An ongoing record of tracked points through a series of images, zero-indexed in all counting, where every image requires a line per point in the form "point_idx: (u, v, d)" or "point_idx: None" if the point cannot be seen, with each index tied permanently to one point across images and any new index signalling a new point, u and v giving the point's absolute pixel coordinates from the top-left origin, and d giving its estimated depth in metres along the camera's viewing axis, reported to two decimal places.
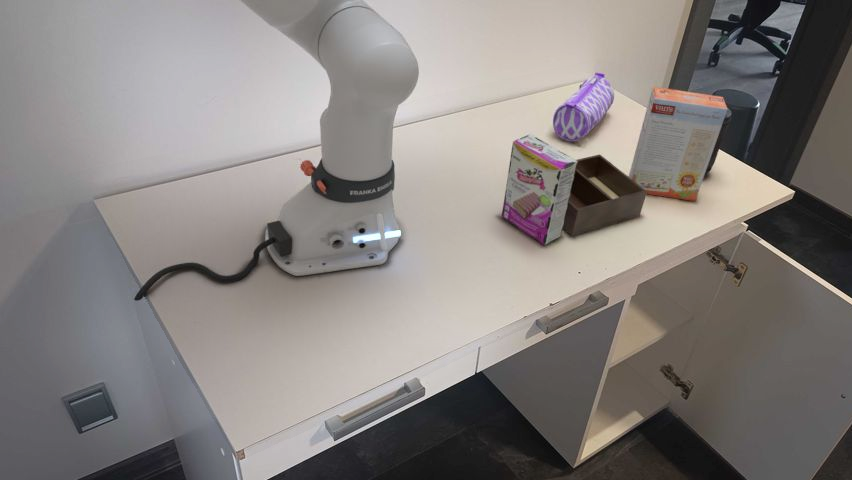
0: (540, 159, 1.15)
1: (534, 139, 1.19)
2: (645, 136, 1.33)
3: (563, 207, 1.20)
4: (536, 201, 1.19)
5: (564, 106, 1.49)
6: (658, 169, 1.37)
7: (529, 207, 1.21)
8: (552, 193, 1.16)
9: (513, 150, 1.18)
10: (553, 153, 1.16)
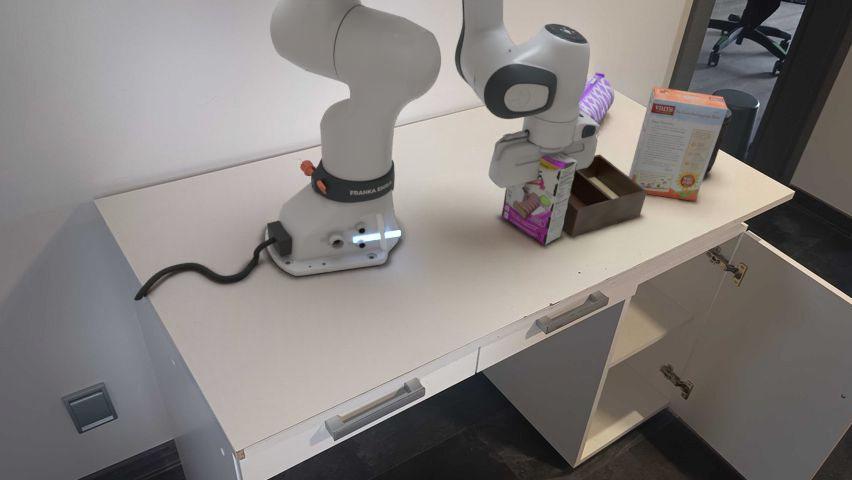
0: (540, 159, 1.15)
1: None
2: (645, 136, 1.33)
3: (563, 207, 1.20)
4: (537, 201, 1.19)
5: None
6: (658, 169, 1.37)
7: (529, 207, 1.21)
8: (552, 193, 1.16)
9: None
10: None
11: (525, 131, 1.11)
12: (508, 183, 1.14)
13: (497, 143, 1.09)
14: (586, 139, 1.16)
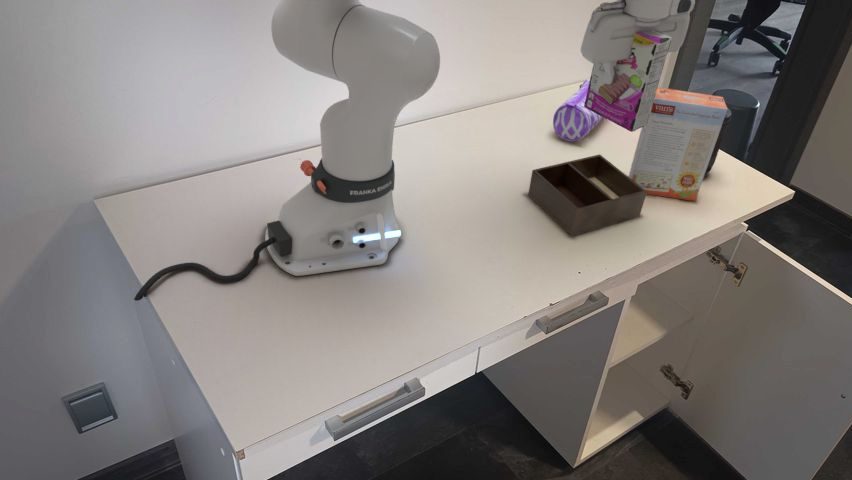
0: (634, 35, 1.11)
1: None
2: (645, 136, 1.33)
3: (653, 90, 1.17)
4: (626, 83, 1.16)
5: (564, 106, 1.49)
6: (658, 169, 1.37)
7: (616, 91, 1.18)
8: (645, 71, 1.13)
9: None
10: None
11: (622, 1, 1.07)
12: (602, 58, 1.10)
13: (594, 12, 1.06)
14: (680, 15, 1.13)
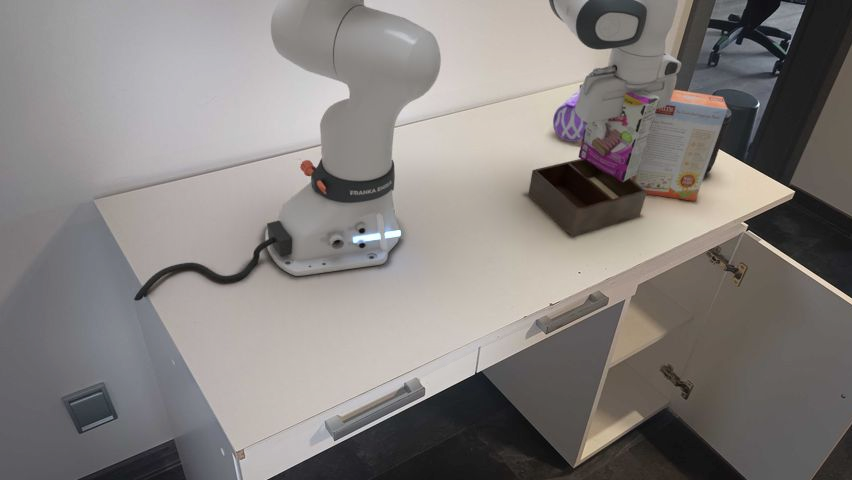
0: (624, 95, 1.19)
1: None
2: None
3: (643, 144, 1.25)
4: (618, 138, 1.24)
5: (564, 106, 1.49)
6: (658, 169, 1.37)
7: (609, 145, 1.26)
8: (635, 128, 1.21)
9: None
10: None
11: (613, 66, 1.16)
12: (594, 118, 1.19)
13: (587, 77, 1.14)
14: (667, 77, 1.21)
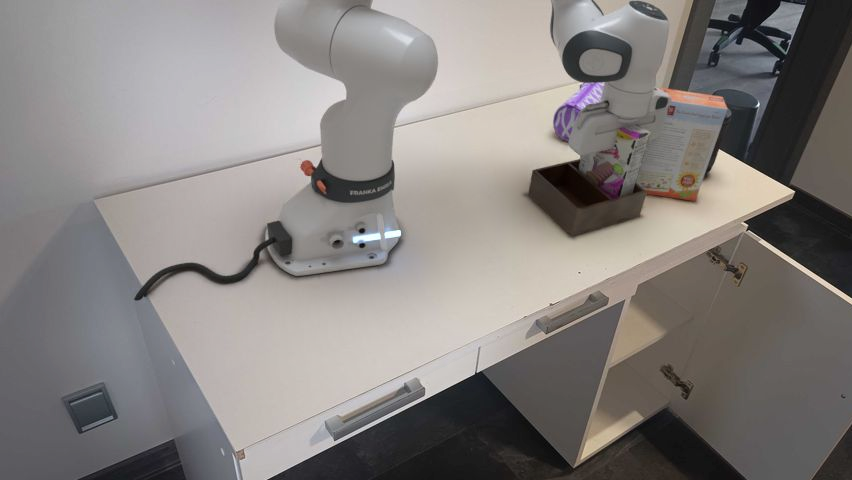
0: None
1: None
2: None
3: (634, 176, 1.29)
4: (610, 170, 1.29)
5: (564, 106, 1.49)
6: (658, 169, 1.37)
7: (602, 176, 1.31)
8: (626, 161, 1.25)
9: None
10: None
11: (605, 102, 1.20)
12: (587, 151, 1.23)
13: (580, 112, 1.18)
14: (658, 111, 1.25)
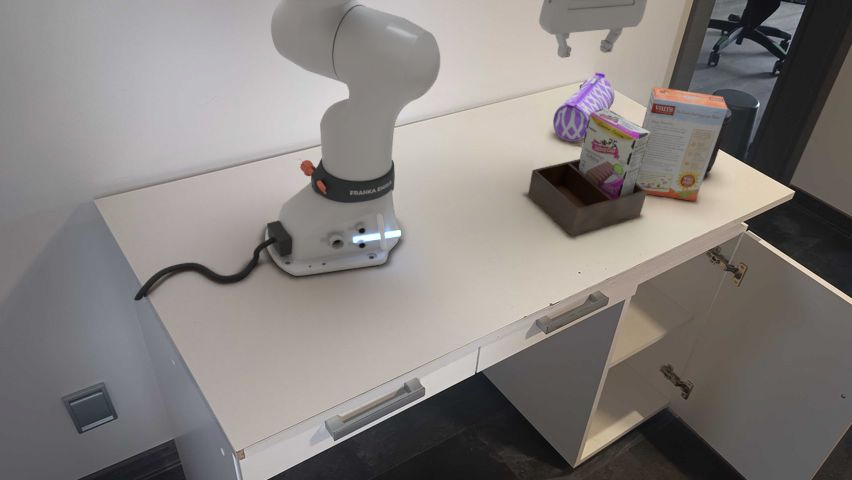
0: (616, 129, 1.24)
1: (609, 112, 1.28)
2: None
3: (634, 176, 1.29)
4: (610, 170, 1.29)
5: (564, 106, 1.49)
6: (658, 169, 1.37)
7: (602, 176, 1.31)
8: (626, 161, 1.25)
9: (589, 122, 1.28)
10: (628, 125, 1.25)
11: None
12: (559, 29, 1.12)
13: None
14: None
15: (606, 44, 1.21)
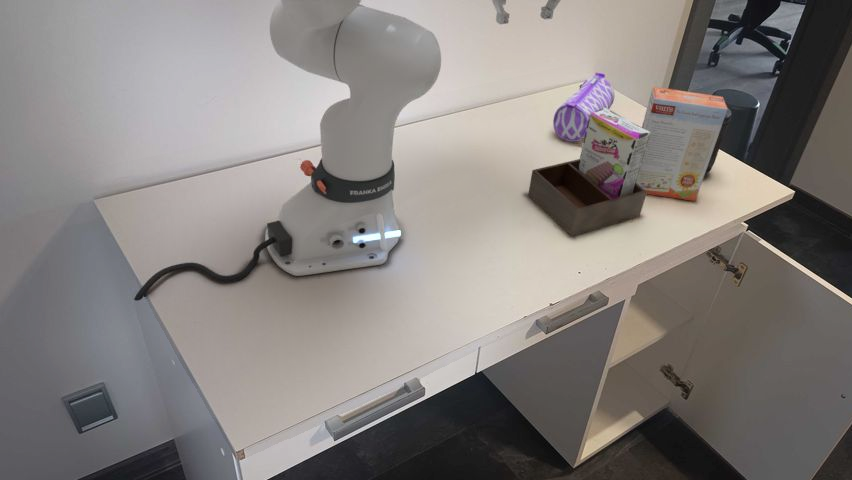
0: (616, 129, 1.24)
1: (609, 112, 1.28)
2: None
3: (634, 176, 1.29)
4: (610, 170, 1.29)
5: (564, 106, 1.49)
6: (658, 169, 1.37)
7: (602, 176, 1.31)
8: (626, 161, 1.25)
9: (589, 122, 1.28)
10: (628, 125, 1.25)
11: None
12: None
13: None
14: None
15: (546, 10, 1.21)
